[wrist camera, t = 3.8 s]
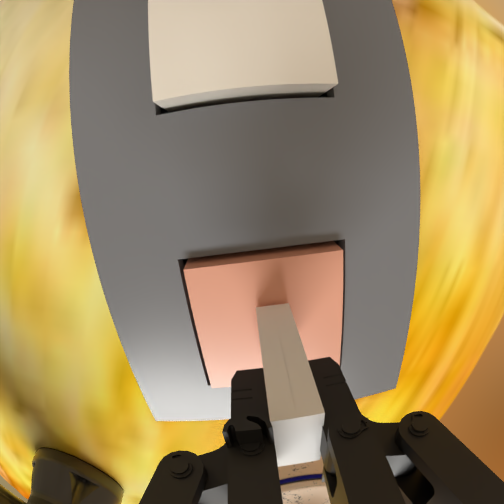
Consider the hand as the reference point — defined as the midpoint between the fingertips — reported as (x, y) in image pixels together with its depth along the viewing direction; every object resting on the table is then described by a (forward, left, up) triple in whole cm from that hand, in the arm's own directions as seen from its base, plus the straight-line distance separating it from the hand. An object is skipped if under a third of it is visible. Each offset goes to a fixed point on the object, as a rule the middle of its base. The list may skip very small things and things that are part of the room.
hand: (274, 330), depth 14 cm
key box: (0, +7, -7) cm, 10 cm away
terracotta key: (0, 0, -4) cm, 4 cm away
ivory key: (0, +14, -3) cm, 14 cm away
